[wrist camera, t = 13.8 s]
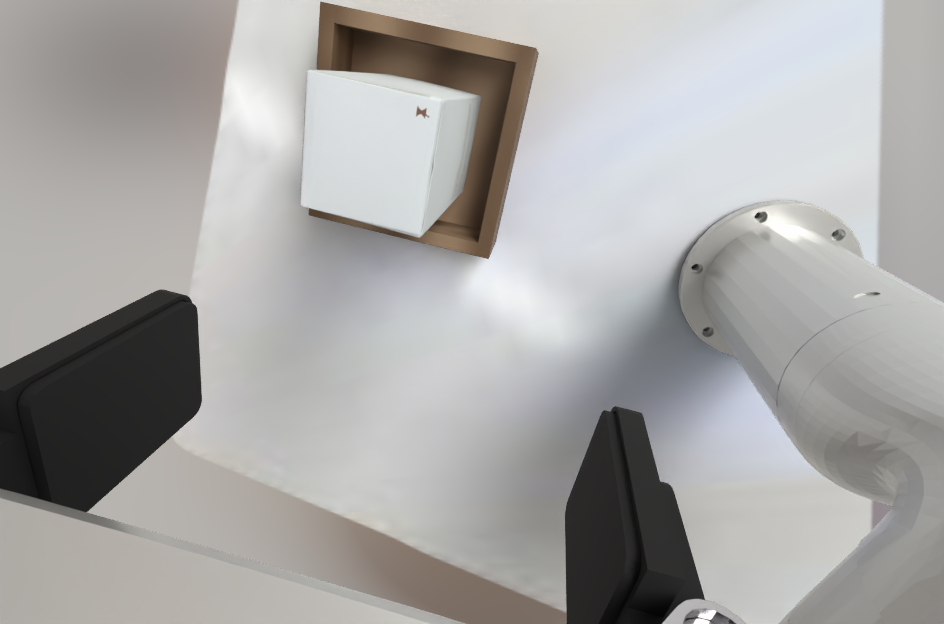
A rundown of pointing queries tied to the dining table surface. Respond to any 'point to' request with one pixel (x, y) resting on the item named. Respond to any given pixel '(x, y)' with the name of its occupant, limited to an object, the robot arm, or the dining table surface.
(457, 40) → the wooden shadow box
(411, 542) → the dining table surface
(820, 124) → the dining table surface
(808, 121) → the dining table surface
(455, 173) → the supplement box
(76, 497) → the robot arm
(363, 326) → the dining table surface
